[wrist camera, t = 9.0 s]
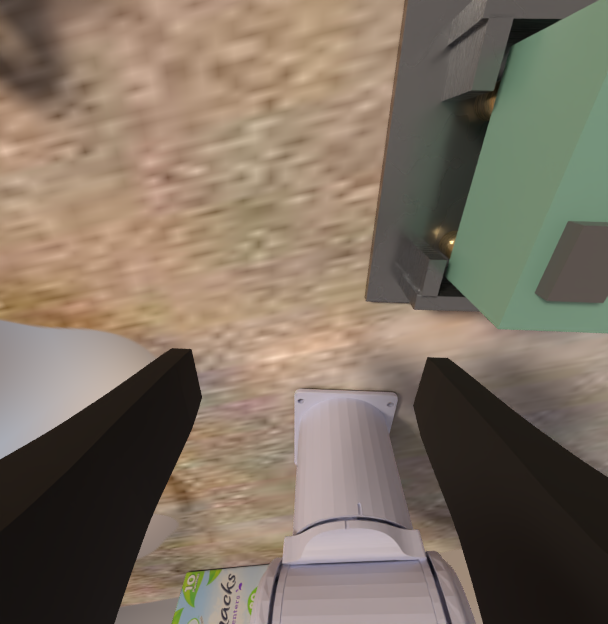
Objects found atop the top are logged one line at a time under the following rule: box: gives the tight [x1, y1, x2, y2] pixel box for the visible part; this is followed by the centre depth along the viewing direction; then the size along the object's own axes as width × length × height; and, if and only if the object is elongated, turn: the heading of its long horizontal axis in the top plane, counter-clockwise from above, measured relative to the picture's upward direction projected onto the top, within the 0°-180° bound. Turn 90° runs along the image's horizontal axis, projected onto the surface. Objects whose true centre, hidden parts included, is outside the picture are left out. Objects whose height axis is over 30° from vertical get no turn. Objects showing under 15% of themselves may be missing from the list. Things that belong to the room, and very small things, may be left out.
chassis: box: [365, 0, 598, 312], centre depth 13 cm, size 14×11×4 cm
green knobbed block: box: [445, 0, 608, 333], centre depth 10 cm, size 9×4×6 cm, turn 179°
